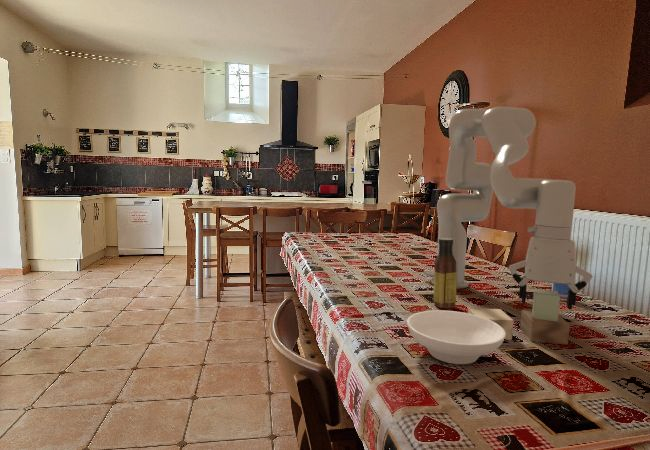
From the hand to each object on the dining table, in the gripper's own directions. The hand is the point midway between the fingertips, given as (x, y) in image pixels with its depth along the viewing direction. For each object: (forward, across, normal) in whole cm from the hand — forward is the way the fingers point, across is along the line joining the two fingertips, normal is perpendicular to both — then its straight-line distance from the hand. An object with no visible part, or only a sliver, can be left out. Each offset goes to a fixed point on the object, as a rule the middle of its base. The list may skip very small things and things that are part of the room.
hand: (545, 304), depth 98 cm
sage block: (+3, 0, 0) cm, 3 cm away
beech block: (+8, -12, -4) cm, 15 cm away
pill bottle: (+8, +7, +38) cm, 39 cm away
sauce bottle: (+8, -25, +12) cm, 29 cm away
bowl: (+8, -18, -22) cm, 30 cm away
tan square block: (+8, 0, 0) cm, 8 cm away
